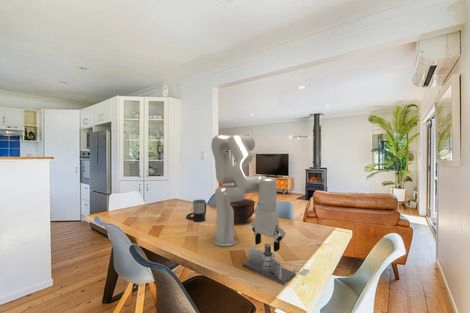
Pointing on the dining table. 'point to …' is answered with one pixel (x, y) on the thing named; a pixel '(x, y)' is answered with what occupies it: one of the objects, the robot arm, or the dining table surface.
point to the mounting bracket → (302, 271)
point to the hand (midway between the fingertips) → (267, 247)
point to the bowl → (242, 210)
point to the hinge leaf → (273, 267)
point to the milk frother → (198, 211)
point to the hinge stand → (257, 267)
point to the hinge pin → (267, 249)
